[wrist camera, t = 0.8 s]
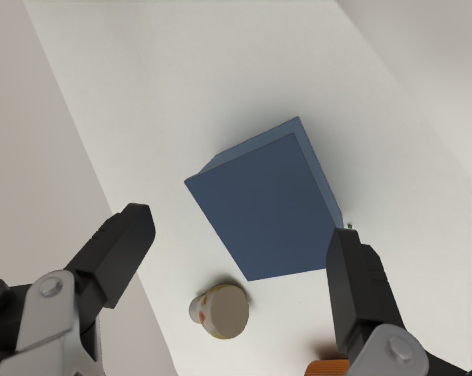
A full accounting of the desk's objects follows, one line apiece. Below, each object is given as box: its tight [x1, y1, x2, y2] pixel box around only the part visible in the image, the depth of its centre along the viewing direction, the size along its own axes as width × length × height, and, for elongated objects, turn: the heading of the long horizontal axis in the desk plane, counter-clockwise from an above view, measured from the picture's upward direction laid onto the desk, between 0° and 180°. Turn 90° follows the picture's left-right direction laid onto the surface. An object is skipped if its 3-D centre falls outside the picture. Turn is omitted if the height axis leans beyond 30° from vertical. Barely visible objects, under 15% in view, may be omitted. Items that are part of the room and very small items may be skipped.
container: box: [184, 117, 344, 281], centre depth 25 cm, size 13×11×7 cm
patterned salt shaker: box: [189, 284, 249, 339], centre depth 37 cm, size 8×10×10 cm
